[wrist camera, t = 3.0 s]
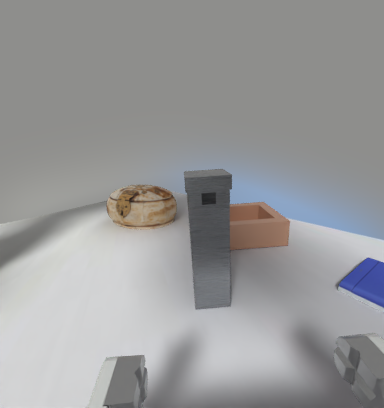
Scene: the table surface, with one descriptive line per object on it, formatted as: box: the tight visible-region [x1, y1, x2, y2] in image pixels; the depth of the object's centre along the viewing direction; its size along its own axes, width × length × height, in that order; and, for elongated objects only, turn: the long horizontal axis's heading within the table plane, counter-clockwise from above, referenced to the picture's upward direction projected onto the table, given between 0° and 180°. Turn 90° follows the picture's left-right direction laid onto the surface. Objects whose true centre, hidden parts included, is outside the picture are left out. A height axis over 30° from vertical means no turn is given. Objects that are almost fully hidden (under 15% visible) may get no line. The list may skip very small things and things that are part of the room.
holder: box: [230, 202, 290, 250], centre depth 35 cm, size 10×10×4 cm
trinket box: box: [107, 185, 177, 230], centre depth 44 cm, size 13×15×8 cm
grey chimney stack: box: [184, 169, 232, 309], centre depth 20 cm, size 4×4×13 cm
